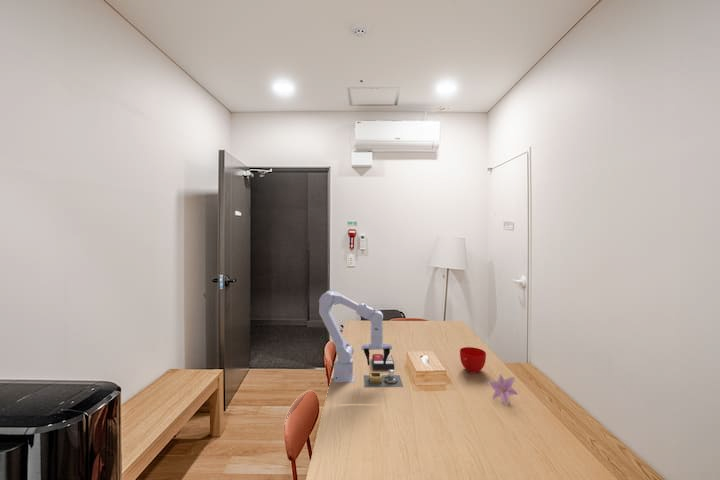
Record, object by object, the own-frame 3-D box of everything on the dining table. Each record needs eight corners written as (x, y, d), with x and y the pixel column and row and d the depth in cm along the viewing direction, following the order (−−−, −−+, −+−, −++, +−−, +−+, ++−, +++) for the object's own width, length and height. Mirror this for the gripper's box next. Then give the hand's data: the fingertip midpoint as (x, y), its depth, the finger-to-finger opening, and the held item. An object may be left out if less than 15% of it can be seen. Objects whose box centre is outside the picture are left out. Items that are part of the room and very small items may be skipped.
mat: (364, 388, 148) (364, 387, 148) (363, 376, 160) (363, 375, 160) (403, 387, 148) (403, 386, 148) (399, 376, 160) (399, 375, 160)
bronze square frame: (370, 383, 151) (370, 377, 151) (369, 378, 157) (369, 372, 156) (381, 383, 151) (381, 377, 151) (380, 378, 157) (380, 372, 157)
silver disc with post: (385, 384, 151) (385, 373, 151) (383, 377, 157) (383, 367, 157) (398, 383, 151) (398, 373, 151) (396, 377, 157) (396, 367, 157)
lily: (486, 393, 146) (482, 378, 142) (508, 382, 147) (505, 367, 144) (502, 414, 135) (499, 400, 131) (527, 402, 136) (524, 387, 133)
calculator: (391, 353, 181) (394, 362, 166) (391, 361, 181) (394, 371, 166) (372, 353, 182) (373, 362, 167) (372, 360, 181) (373, 371, 166)
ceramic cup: (451, 372, 164) (451, 353, 164) (466, 363, 177) (466, 345, 177) (476, 381, 156) (476, 360, 155) (489, 370, 168) (490, 351, 168)
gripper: (362, 339, 149) (362, 368, 149) (393, 338, 150) (392, 367, 150) (361, 334, 156) (360, 362, 156) (390, 333, 157) (390, 361, 157)
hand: (376, 364), depth 154 cm, fingers open, 7 cm apart
